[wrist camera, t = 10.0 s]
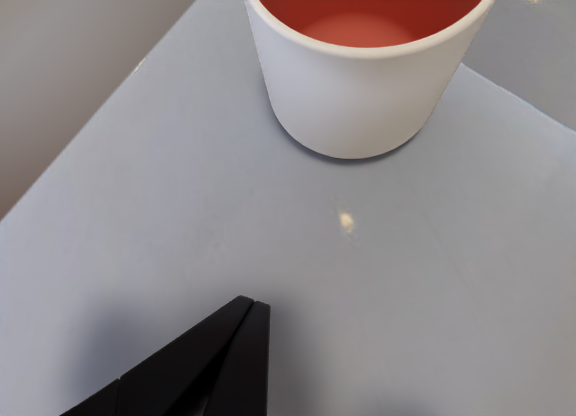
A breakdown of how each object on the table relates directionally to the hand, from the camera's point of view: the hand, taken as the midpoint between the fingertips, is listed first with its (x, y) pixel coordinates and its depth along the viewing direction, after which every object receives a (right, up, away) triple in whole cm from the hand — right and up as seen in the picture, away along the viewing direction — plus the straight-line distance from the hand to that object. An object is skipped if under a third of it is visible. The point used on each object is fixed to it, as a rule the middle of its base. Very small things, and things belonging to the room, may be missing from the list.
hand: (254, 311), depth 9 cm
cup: (+5, +10, +14) cm, 18 cm away
